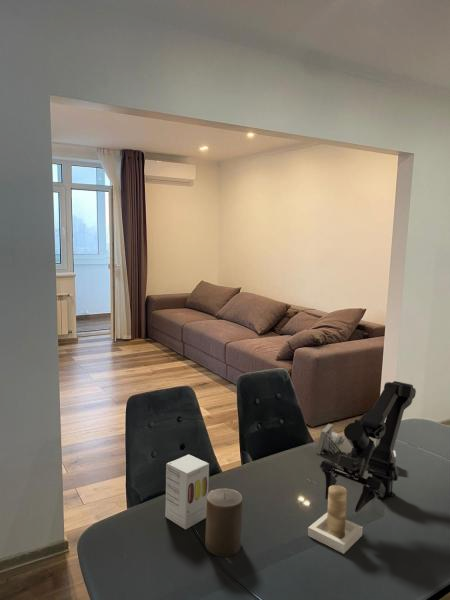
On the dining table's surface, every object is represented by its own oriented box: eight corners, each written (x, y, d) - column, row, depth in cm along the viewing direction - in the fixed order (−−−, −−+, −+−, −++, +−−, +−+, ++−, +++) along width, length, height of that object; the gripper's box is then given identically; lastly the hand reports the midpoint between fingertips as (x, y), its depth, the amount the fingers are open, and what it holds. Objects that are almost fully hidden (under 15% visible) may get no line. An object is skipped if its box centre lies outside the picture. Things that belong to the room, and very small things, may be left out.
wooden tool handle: (341, 528, 129) (343, 485, 128) (347, 539, 124) (349, 494, 123) (324, 528, 129) (326, 485, 127) (329, 539, 124) (331, 494, 123)
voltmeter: (310, 445, 187) (311, 422, 186) (336, 445, 188) (337, 422, 187) (331, 477, 160) (332, 450, 160) (362, 476, 162) (363, 449, 161)
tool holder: (327, 519, 134) (327, 511, 134) (362, 535, 127) (362, 527, 127) (307, 535, 126) (308, 527, 126) (343, 553, 119) (344, 544, 118)
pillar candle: (229, 562, 115) (231, 506, 113) (197, 548, 120) (199, 494, 118) (247, 542, 123) (249, 490, 121) (217, 530, 128) (219, 479, 127)
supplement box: (185, 530, 127) (186, 473, 126) (164, 517, 133) (164, 463, 132) (208, 516, 134) (210, 462, 133) (187, 504, 140) (188, 453, 139)
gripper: (323, 434, 136) (302, 482, 129) (383, 453, 123) (363, 507, 116) (335, 451, 143) (315, 497, 136) (393, 470, 130) (375, 523, 123)
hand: (340, 505), depth 128 cm, fingers open, 9 cm apart
